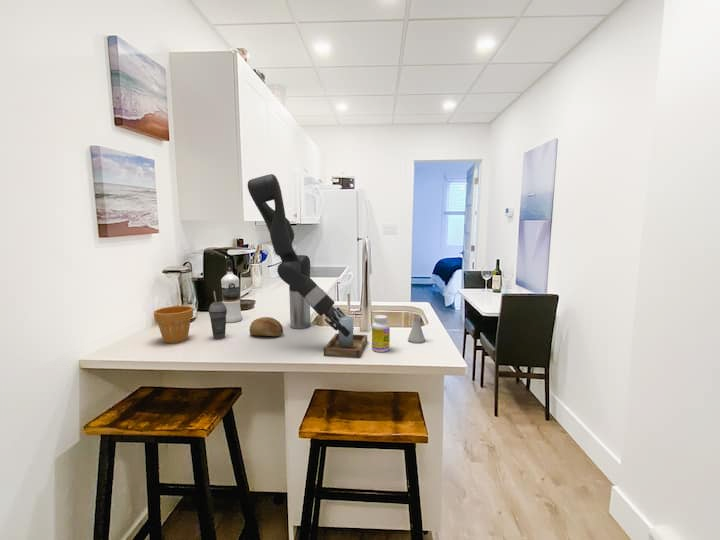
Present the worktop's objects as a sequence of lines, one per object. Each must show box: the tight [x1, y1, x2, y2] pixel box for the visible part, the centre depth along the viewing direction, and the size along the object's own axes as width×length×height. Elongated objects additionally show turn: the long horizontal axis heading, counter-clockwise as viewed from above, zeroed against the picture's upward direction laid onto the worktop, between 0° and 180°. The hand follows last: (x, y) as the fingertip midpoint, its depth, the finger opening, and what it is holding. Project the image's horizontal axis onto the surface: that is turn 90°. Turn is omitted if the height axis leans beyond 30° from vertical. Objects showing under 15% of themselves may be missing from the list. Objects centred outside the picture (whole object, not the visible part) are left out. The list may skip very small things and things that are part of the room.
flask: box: [407, 315, 426, 344], centre depth 147 cm, size 7×7×10 cm
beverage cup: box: [208, 290, 227, 340], centre depth 152 cm, size 7×7×20 cm
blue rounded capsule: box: [337, 315, 354, 346], centre depth 137 cm, size 6×6×10 cm
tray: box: [323, 333, 368, 359], centre depth 139 cm, size 18×13×3 cm
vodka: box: [220, 260, 243, 324], centre depth 178 cm, size 9×9×30 cm
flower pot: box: [153, 305, 194, 344], centre depth 150 cm, size 14×14×13 cm
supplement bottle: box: [371, 314, 391, 353], centre depth 137 cm, size 7×7×13 cm
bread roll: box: [249, 316, 284, 337], centre depth 155 cm, size 10×15×8 cm, turn 78°
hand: (350, 332), depth 137 cm, fingers closed on blue rounded capsule, 5 cm apart
